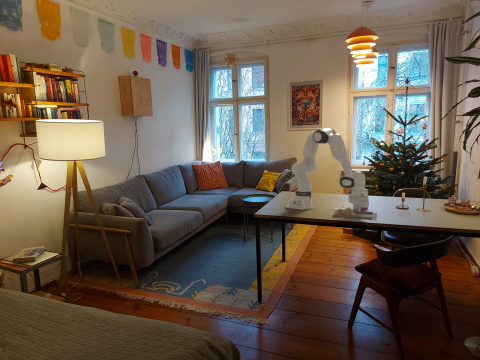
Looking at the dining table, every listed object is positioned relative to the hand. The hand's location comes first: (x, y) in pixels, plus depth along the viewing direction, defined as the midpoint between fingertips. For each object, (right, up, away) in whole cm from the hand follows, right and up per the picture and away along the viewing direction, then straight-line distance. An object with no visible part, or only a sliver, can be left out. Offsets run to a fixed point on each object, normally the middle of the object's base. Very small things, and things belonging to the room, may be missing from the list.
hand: (358, 211), depth 252 cm
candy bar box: (+8, -1, +19) cm, 21 cm away
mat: (-2, -4, +2) cm, 4 cm away
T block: (-11, -3, +3) cm, 12 cm away
